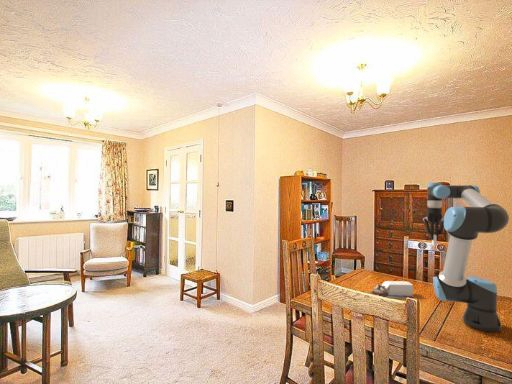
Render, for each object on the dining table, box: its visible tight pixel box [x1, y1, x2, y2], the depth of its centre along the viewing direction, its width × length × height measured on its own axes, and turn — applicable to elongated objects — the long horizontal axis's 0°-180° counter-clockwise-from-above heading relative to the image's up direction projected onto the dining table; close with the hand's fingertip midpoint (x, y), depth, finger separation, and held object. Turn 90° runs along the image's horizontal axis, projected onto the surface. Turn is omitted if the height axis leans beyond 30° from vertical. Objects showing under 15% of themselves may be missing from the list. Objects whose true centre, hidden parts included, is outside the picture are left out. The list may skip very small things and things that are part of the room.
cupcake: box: [370, 284, 388, 297], centre depth 167 cm, size 10×10×10 cm
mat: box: [388, 294, 411, 300], centre depth 182 cm, size 20×17×1 cm
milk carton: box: [381, 280, 414, 297], centre depth 180 cm, size 7×7×19 cm
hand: (434, 245), depth 170 cm, fingers closed
